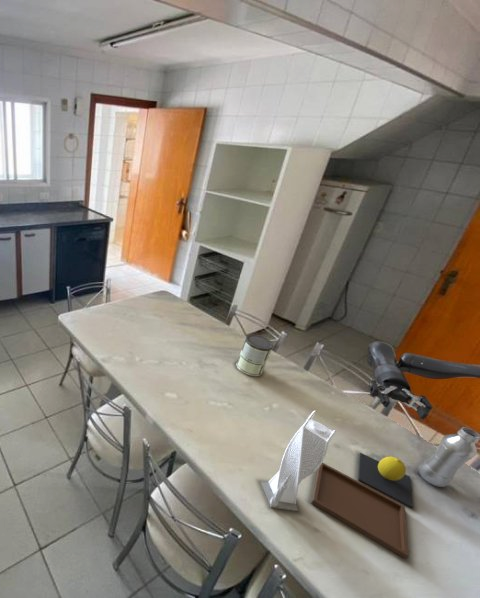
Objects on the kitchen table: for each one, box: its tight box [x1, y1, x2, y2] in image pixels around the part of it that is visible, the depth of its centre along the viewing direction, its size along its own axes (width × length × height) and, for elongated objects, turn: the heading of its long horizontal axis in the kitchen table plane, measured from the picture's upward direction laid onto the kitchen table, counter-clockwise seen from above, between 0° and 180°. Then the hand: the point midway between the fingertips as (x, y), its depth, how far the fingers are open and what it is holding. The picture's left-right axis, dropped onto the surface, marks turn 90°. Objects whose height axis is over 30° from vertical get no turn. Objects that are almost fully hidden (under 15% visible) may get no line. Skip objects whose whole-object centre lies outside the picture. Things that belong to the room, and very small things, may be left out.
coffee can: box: [235, 333, 274, 377], centre depth 136 cm, size 10×10×14 cm
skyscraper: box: [260, 410, 337, 512], centre depth 84 cm, size 8×8×28 cm
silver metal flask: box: [417, 426, 480, 488], centre depth 93 cm, size 6×7×20 cm
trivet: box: [357, 452, 414, 509], centre depth 97 cm, size 12×12×1 cm
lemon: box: [378, 456, 407, 481], centre depth 95 cm, size 6×6×8 cm
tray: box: [311, 462, 410, 560], centre depth 88 cm, size 20×16×2 cm
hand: (405, 410), depth 97 cm, fingers open, 8 cm apart
